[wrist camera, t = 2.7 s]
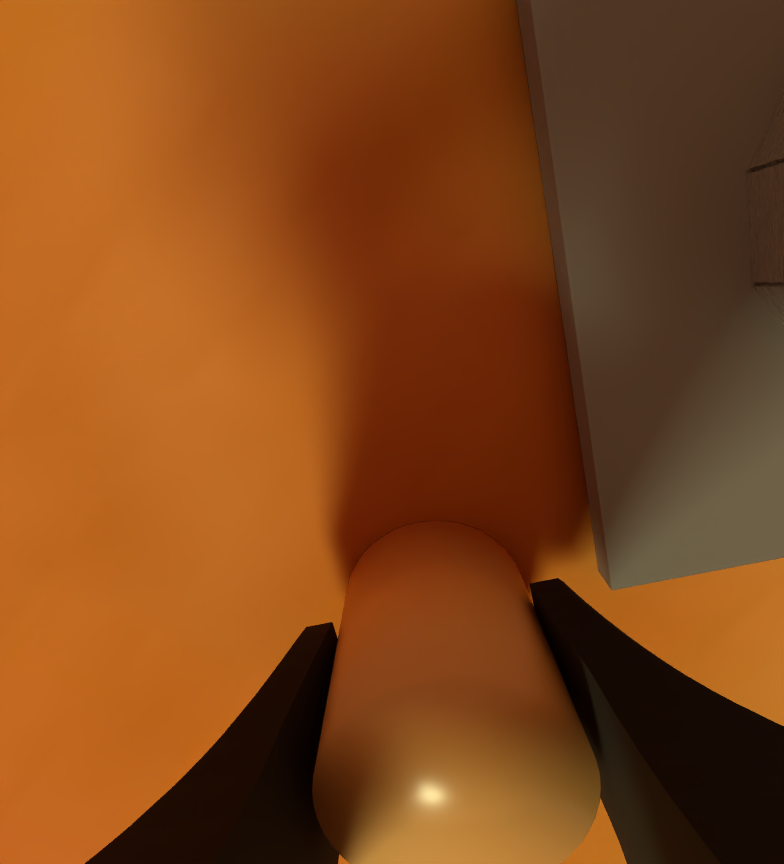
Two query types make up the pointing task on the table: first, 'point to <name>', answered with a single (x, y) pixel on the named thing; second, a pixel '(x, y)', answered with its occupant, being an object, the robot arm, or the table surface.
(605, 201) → the gray board
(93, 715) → the table surface
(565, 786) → the orange rounded capsule
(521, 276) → the table surface
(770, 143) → the segmented brown ring
